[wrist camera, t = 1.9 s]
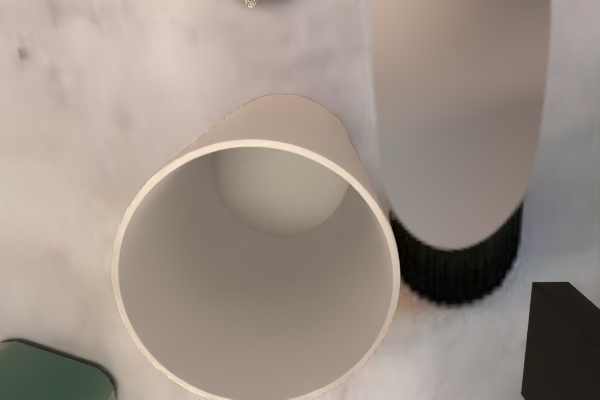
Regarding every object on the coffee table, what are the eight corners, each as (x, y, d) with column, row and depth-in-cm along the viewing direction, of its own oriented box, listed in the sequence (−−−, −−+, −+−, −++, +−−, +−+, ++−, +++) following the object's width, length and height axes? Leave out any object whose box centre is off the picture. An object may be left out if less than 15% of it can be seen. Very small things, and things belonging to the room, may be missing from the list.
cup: (341, 246, 32) (371, 427, 16) (202, 224, 32) (100, 387, 16) (367, 107, 30) (430, 164, 14) (219, 82, 30) (120, 114, 14)
